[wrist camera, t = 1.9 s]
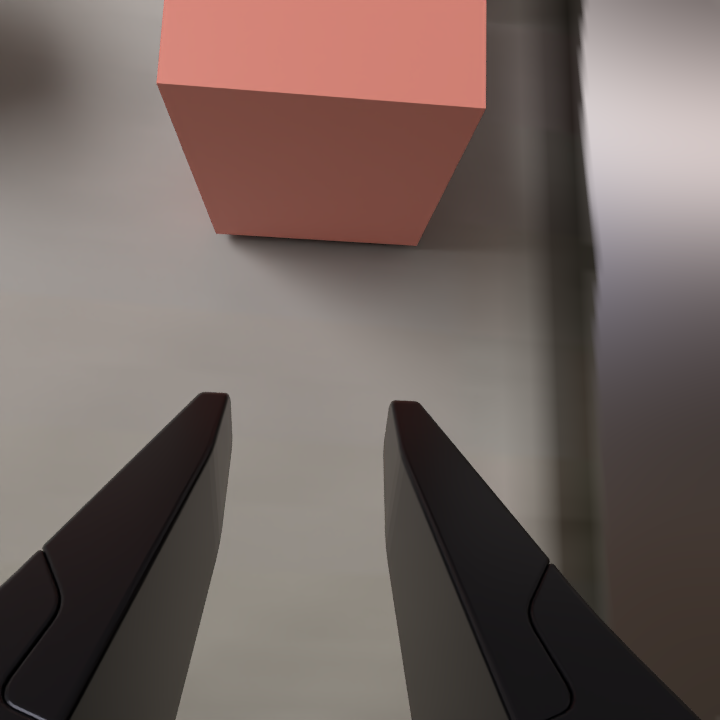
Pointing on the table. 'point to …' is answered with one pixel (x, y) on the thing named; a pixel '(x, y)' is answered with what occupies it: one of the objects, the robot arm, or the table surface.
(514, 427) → the table surface
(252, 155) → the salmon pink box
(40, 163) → the table surface
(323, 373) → the table surface
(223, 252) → the table surface
